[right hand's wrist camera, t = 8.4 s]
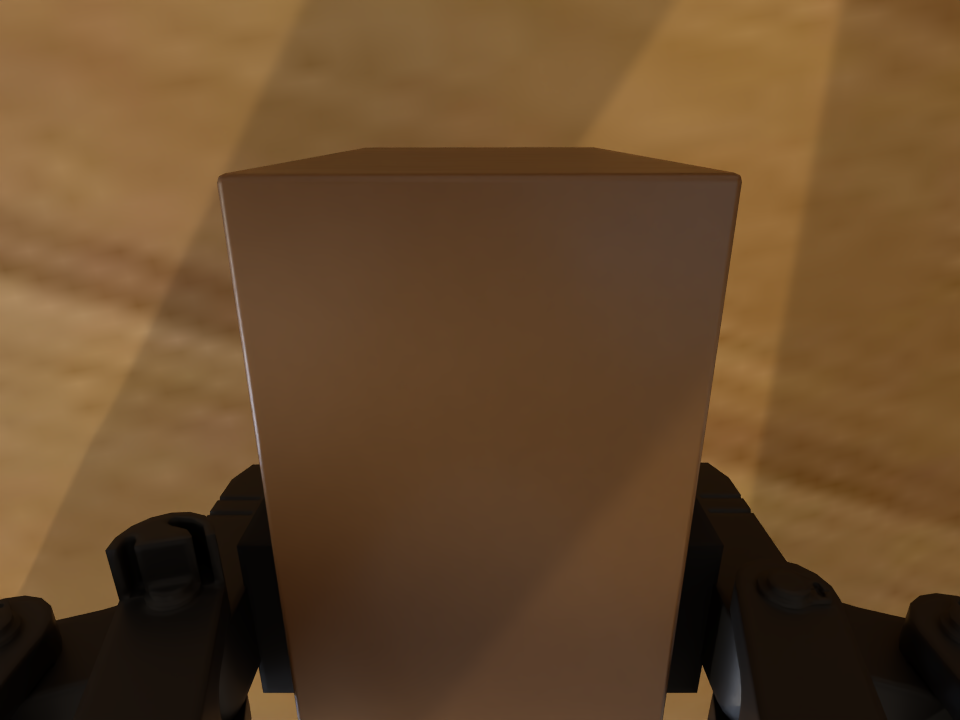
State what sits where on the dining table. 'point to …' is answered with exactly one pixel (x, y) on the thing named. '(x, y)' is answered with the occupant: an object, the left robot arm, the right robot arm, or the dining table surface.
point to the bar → (479, 420)
